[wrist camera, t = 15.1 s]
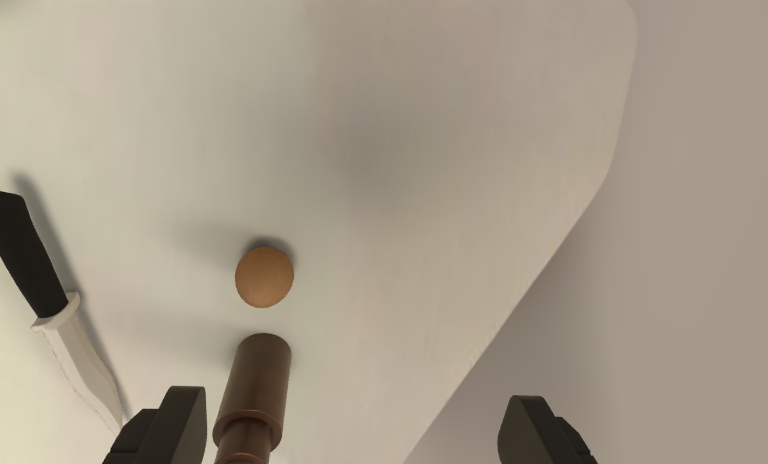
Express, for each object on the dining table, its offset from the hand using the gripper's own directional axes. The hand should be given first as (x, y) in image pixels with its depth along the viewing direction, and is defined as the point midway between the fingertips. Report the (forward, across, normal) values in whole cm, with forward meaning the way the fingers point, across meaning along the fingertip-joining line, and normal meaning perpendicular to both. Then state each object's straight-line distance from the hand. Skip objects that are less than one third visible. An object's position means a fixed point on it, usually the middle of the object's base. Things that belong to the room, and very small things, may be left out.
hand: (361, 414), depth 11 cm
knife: (+24, +21, +15) cm, 35 cm away
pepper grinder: (+24, +6, +18) cm, 31 cm away
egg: (+24, +6, +8) cm, 26 cm away
